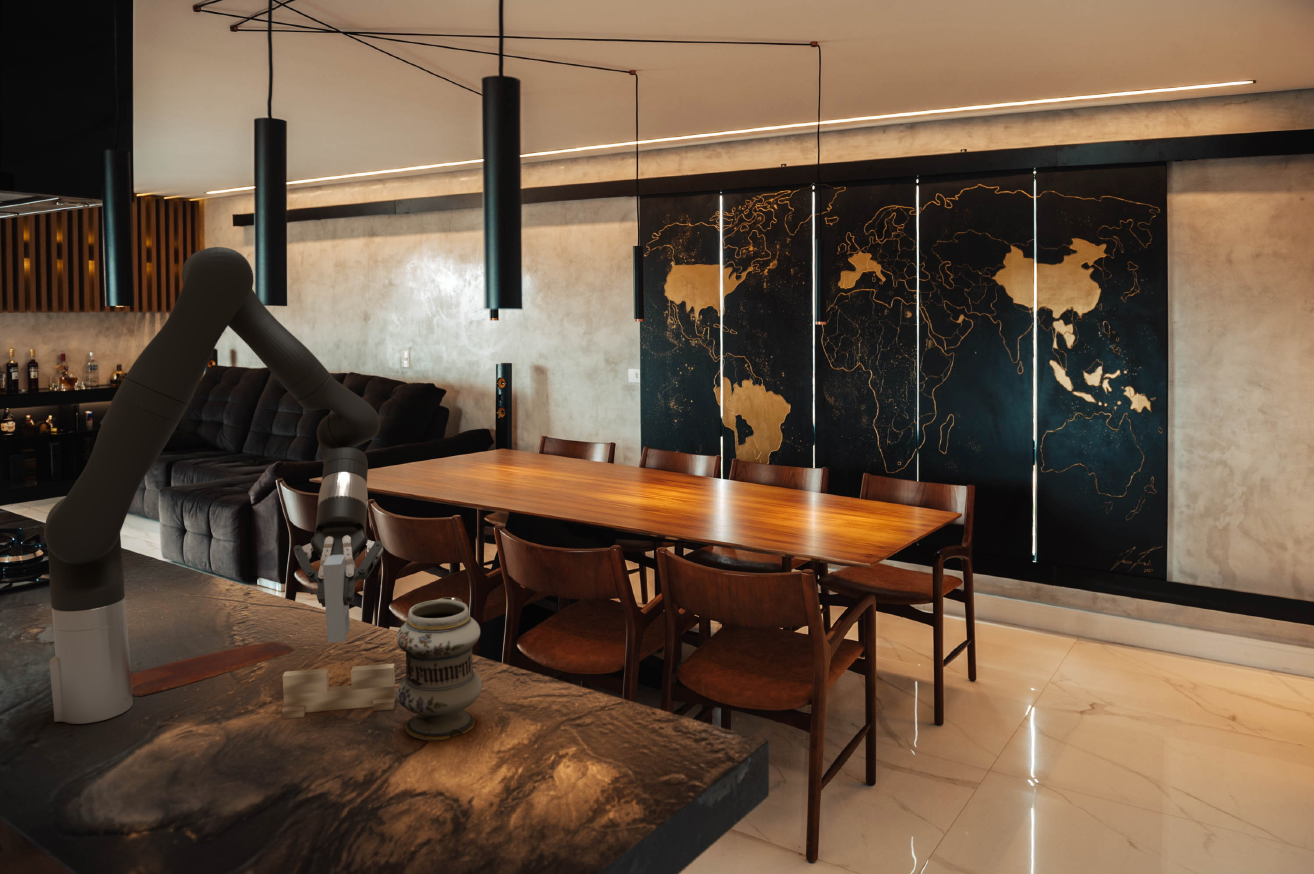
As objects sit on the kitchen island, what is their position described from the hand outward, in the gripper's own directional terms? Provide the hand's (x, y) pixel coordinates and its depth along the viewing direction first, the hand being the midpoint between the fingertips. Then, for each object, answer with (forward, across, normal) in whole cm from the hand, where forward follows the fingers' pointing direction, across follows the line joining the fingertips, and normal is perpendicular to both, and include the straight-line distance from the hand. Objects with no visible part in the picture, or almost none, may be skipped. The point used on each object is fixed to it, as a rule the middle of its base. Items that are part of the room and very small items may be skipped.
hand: (335, 603), depth 127 cm
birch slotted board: (+11, 0, +14) cm, 17 cm away
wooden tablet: (-4, -24, +29) cm, 38 cm away
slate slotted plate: (+3, 0, +6) cm, 6 cm away
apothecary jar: (+18, +15, +7) cm, 24 cm away
